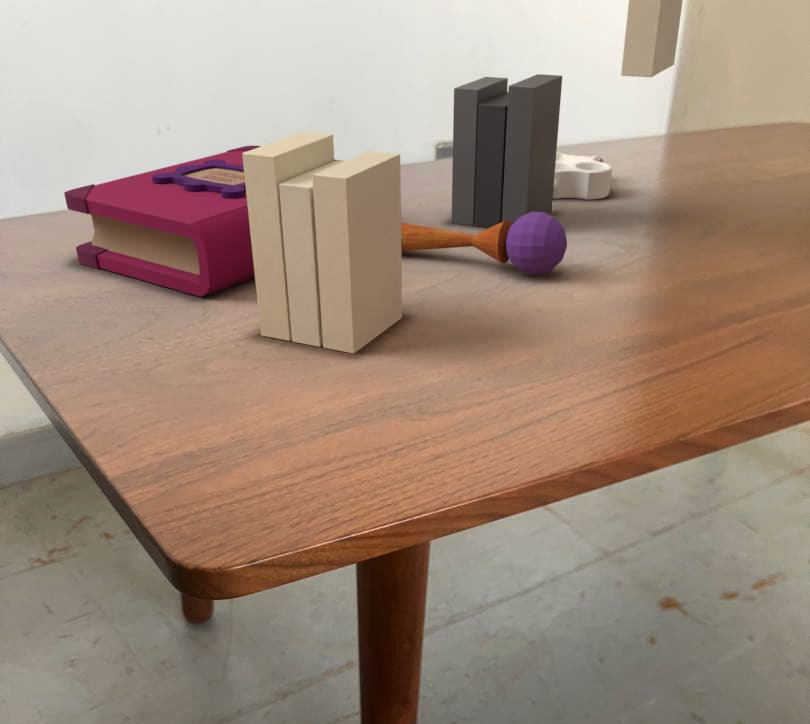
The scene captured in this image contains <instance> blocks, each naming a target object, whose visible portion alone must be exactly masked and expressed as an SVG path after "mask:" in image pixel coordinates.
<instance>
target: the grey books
mask: <svg viewBox="0 0 810 724" xmlns="http://www.w3.org/2000/svg"><path fill="white" fill-rule="evenodd" d="M508 82H509V78H508V77H497V76H483V77H481V78H479V79H476V80H473V81H470V82H468V83H465V84H462V85H459V86H457V87H454V88H453V119H452V120H453V121H452V122H453V124H452V125H453V126H452V128H453V129H452V172H451V174H452V176H451V177H452V178H451V179H452V180H451V224H458V225H464V226H465V225H466V226H474V227H479V228H486V229H488V228H490V227H493V226H495V225H497V224H499V223H501V222H503V221H506V220H508V221H510V223H511V225H513V224H514V223H515V222H516V221H517V219H519V218H520V217H521V216H523V215H526V214H528V213H531V212H545V213H547V214H549V215H551V214H552V213H553V201H554V200H553V189H554V176H555V163H556V152H558V151H557V149H558V137H559V127H560V125H559V124H560V111H561V99H562V89H563V88H562V86H563V75H560V74H559V75H556V74H542V73H537V74H535V75H532V76H530V77H526V78H525V79H522V80H520V81H517V82H515V83H513V84H510V85H509V84H508Z"/></svg>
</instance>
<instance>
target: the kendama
mask: <svg viewBox="0 0 810 724" xmlns="http://www.w3.org/2000/svg"><path fill="white" fill-rule="evenodd" d="M467 247H468V248H469V247H474V248H475V249H477V250H479V251H480V252H482V253H484V254H485V255H487V256H489V257H491V258H492V259H494V260H496V261H498V262H499V263H501V264H503V265H505V264H507V263H508V262H511V264H512V265H513V267H514V268H515V269H516V270H518V271H520V272H522V273H523V274H526V275H532V276H541V275H544V274H547V273H550V272H551V271H553V270H554V269H555V268H556V267H557V266H558V265H559V264H560V263H562V262H563V259H564V257H565V254H566V251H567V247H568V239H567V233H566V229H565V227H564V225H562V223H561V222H560V221H559V218H556V217H554V216H553V215H551V214H547V213H545V212H531V213H528V214H526V215H523V216H521V217H520V218H519V219H517V221H516V222H515V223H514V224H513V225H511V223H510V221H508V220H506V221H503V222H501V223H499V224H497V225H495V226H493V227H490V228H486V229H484V230H482V231H479V232H478V233H475V234H472V233H471V234H470V233H465V232H458V231H453V230H447V229H441V228H437V227H436V228H435V227H429V226H423V225H419V224H418V225H417V224H411V223H406V222H401V252H413V251H425V250H440V249H453V248H456V249H457V248H467Z"/></svg>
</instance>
